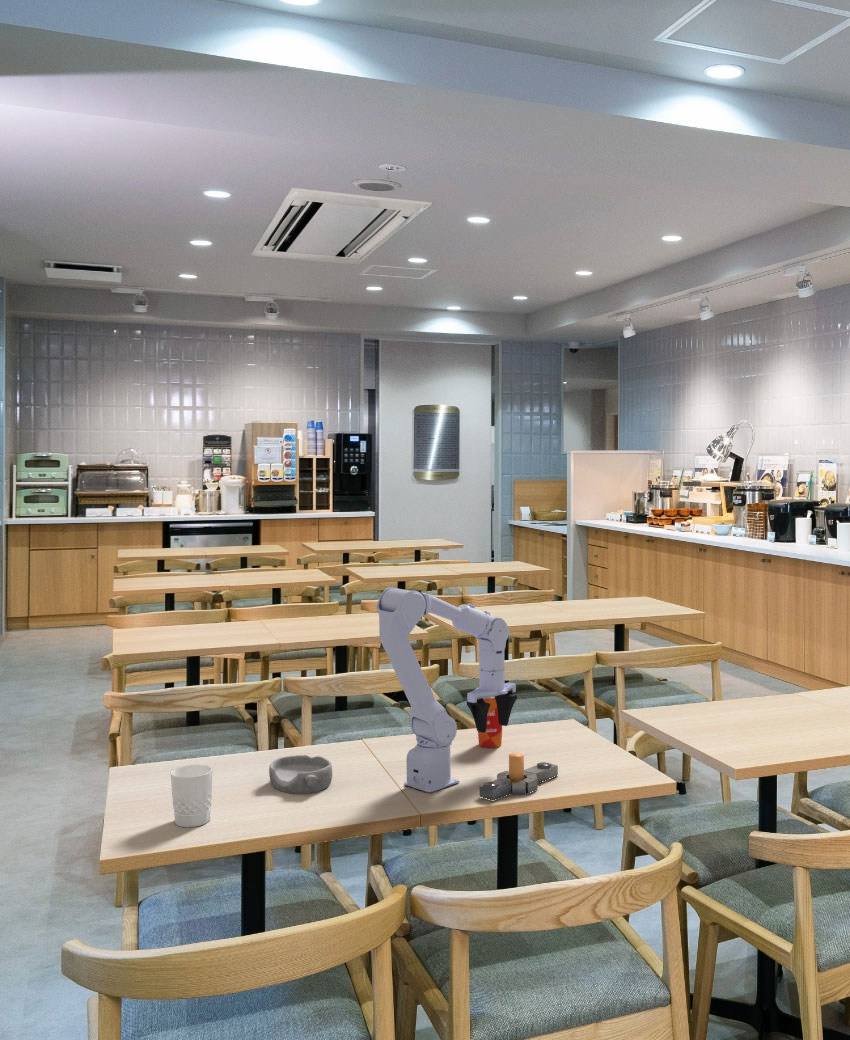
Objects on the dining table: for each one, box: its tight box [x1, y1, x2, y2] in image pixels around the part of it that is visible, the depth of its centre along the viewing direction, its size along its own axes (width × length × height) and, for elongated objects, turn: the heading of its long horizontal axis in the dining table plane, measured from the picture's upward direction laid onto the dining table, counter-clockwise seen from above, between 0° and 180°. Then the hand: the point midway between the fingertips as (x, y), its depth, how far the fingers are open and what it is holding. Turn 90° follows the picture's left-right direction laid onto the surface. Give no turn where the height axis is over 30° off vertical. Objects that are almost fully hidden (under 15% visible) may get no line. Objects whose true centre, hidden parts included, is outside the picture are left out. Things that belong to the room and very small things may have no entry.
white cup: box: [170, 764, 213, 828], centre depth 178 cm, size 8×8×10 cm
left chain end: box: [478, 779, 538, 800], centre depth 193 cm, size 14×8×3 cm, turn 135°
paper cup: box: [477, 697, 503, 749], centre depth 226 cm, size 8×8×14 cm
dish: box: [268, 754, 333, 795], centre depth 199 cm, size 14×14×5 cm
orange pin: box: [508, 752, 525, 780], centre depth 195 cm, size 3×3×7 cm
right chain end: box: [496, 761, 559, 789], centre depth 197 cm, size 16×8×3 cm, turn 135°
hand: (492, 728), depth 207 cm, fingers open, 7 cm apart
